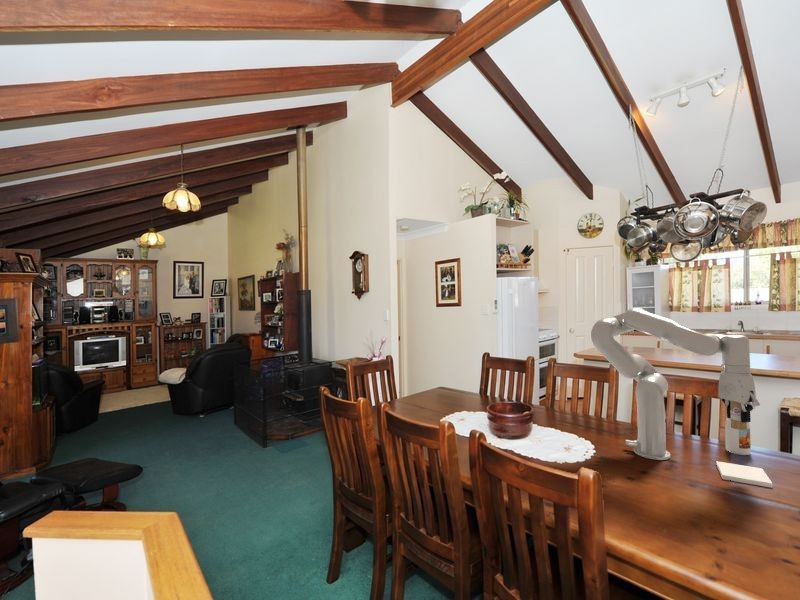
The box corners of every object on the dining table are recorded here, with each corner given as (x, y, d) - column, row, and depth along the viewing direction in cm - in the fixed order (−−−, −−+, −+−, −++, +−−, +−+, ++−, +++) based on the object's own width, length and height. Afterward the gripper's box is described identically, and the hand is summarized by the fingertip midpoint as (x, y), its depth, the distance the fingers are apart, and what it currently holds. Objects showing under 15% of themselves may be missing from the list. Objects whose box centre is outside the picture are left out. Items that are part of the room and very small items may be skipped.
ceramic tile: (722, 479, 136) (722, 474, 136) (716, 465, 147) (716, 461, 147) (772, 487, 129) (772, 483, 129) (762, 472, 140) (762, 468, 140)
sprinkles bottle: (731, 429, 139) (729, 391, 139) (730, 425, 142) (729, 389, 142) (748, 431, 136) (746, 393, 136) (747, 428, 140) (745, 390, 140)
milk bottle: (730, 454, 156) (729, 405, 156) (722, 447, 163) (721, 400, 163) (754, 456, 153) (753, 406, 153) (745, 449, 160) (744, 401, 160)
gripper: (705, 366, 147) (707, 414, 147) (751, 374, 131) (753, 428, 130) (723, 365, 148) (725, 412, 148) (770, 372, 131) (773, 426, 131)
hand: (738, 419), depth 139 cm, fingers closed on sprinkles bottle, 4 cm apart
